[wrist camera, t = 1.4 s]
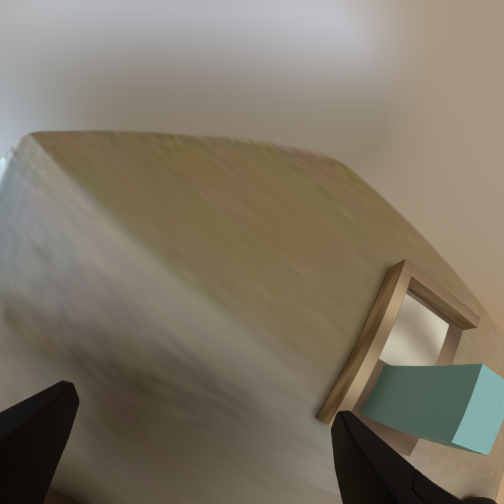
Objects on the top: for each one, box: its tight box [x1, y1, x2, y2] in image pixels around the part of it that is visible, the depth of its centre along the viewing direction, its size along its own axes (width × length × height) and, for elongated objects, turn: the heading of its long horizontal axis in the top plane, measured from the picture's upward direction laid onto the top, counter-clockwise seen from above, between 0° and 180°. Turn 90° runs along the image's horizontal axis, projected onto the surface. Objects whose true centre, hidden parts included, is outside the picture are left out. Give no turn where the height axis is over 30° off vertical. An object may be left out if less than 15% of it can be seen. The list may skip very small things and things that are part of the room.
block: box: [360, 364, 504, 455], centre depth 17 cm, size 5×5×12 cm
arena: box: [316, 259, 480, 456], centre depth 23 cm, size 16×12×3 cm
